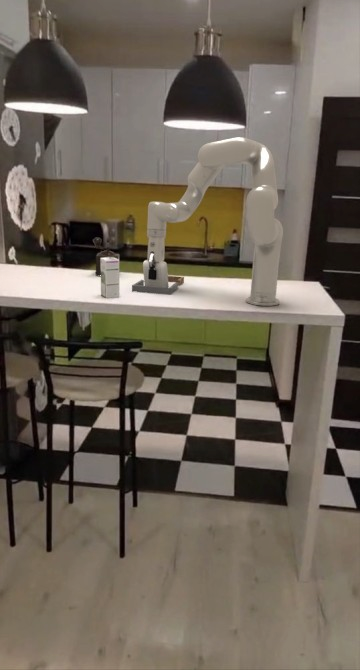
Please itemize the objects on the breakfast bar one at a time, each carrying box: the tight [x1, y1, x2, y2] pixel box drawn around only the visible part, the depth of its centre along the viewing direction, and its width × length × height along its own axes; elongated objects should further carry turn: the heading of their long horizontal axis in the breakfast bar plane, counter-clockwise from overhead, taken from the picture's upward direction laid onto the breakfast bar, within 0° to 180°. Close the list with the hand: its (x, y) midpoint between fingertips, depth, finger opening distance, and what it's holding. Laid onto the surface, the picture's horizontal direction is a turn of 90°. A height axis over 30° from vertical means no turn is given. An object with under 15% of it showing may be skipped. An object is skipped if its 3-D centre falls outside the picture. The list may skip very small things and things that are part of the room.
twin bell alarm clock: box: [92, 236, 120, 276], centre depth 234 cm, size 16×11×18 cm
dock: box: [168, 275, 185, 287], centre depth 224 cm, size 9×15×2 cm, turn 78°
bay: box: [131, 279, 179, 295], centre depth 208 cm, size 14×16×2 cm
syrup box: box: [100, 257, 120, 299], centre depth 191 cm, size 6×6×14 cm
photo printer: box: [142, 259, 169, 288], centre depth 208 cm, size 10×4×12 cm, turn 74°
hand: (154, 277), depth 208 cm, fingers closed on photo printer, 5 cm apart
